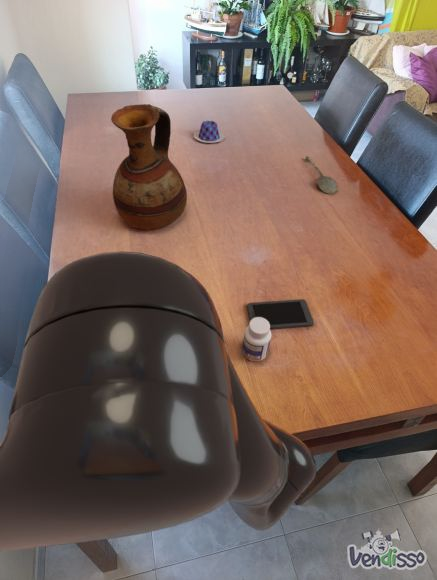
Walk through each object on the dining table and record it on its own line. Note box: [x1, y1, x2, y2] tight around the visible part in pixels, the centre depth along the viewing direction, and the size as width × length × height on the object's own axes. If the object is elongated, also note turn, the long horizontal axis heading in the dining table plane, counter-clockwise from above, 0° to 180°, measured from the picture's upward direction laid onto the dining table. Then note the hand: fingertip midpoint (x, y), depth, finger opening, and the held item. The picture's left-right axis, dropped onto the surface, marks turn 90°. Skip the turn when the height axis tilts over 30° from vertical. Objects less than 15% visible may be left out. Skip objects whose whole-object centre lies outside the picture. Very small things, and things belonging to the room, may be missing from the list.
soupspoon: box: [305, 155, 339, 195], centre depth 125 cm, size 22×3×7 cm
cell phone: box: [246, 298, 314, 330], centre depth 83 cm, size 7×14×1 cm, turn 97°
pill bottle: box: [242, 317, 272, 362], centre depth 74 cm, size 5×5×9 cm
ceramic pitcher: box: [110, 103, 188, 230], centre depth 97 cm, size 20×20×30 cm
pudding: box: [193, 120, 226, 144], centre depth 140 cm, size 12×12×5 cm
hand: (115, 305), depth 58 cm, fingers closed on syrup box, 7 cm apart
